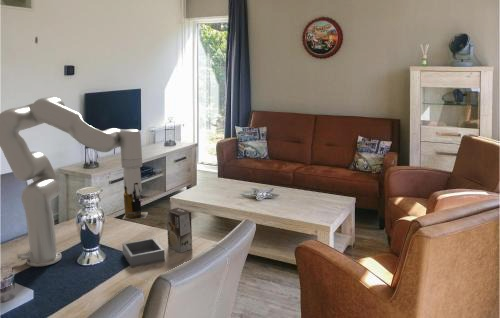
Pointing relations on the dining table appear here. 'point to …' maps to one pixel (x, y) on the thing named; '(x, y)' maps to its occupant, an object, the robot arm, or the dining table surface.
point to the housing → (143, 252)
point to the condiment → (128, 207)
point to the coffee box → (179, 229)
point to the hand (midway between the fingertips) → (134, 208)
